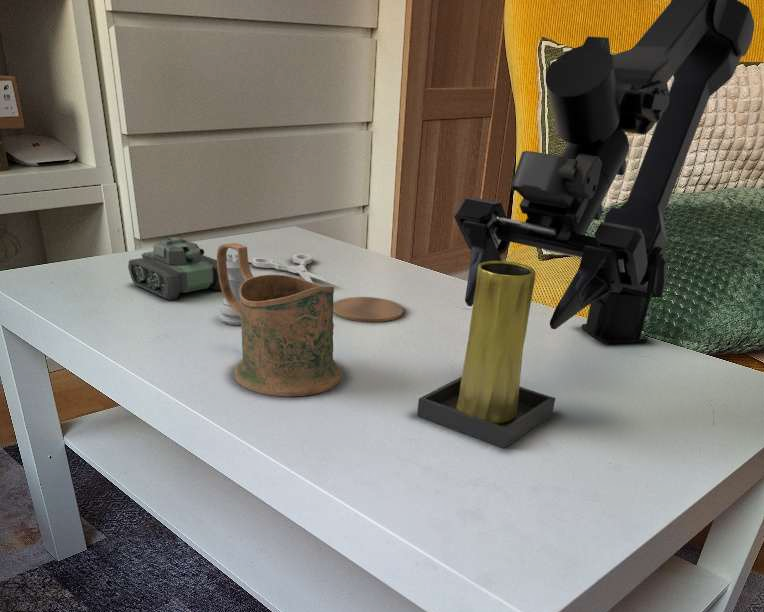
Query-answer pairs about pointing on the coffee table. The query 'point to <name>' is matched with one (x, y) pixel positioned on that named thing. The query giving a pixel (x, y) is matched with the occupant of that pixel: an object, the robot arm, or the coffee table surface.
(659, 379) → the coffee table surface
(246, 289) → the mug
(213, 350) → the coffee table surface
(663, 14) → the robot arm
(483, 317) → the vase
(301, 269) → the scissors
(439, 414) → the black tray
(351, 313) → the coaster
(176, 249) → the toy tank
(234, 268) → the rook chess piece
